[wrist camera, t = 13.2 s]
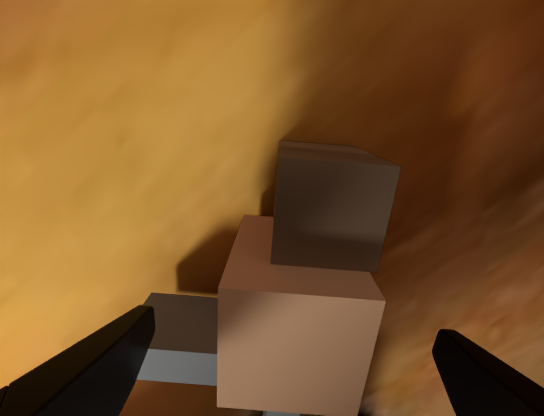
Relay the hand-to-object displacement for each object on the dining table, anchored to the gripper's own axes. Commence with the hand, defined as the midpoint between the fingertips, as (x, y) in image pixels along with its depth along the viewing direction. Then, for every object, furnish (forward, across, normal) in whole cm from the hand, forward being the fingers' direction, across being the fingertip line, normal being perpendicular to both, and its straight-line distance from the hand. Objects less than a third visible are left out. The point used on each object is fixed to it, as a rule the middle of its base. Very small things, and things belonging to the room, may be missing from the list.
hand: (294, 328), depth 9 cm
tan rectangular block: (+4, 0, 0) cm, 4 cm away
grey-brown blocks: (+4, -1, +5) cm, 6 cm away
